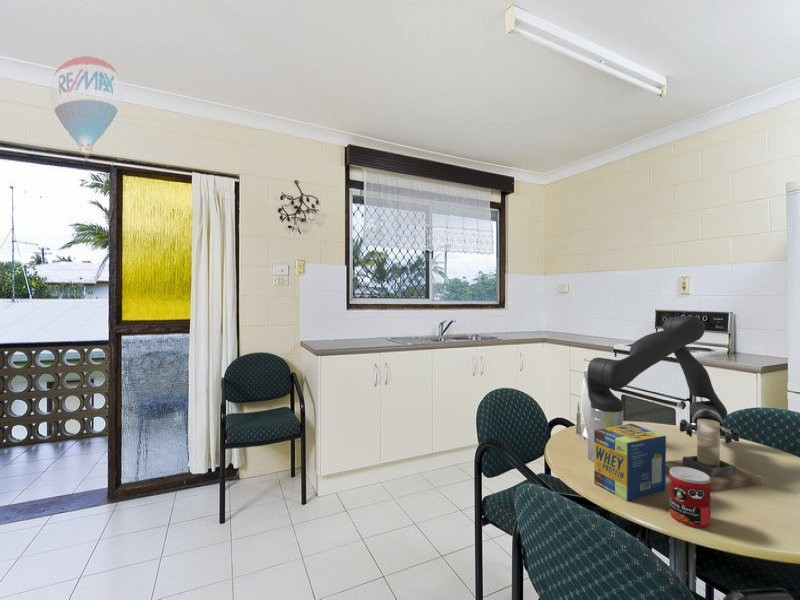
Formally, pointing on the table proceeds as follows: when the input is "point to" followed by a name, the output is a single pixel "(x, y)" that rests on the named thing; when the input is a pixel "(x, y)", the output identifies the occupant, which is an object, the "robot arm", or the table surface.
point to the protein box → (630, 461)
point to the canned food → (689, 496)
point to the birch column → (708, 443)
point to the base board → (719, 473)
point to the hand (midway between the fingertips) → (708, 436)
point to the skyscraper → (584, 409)
